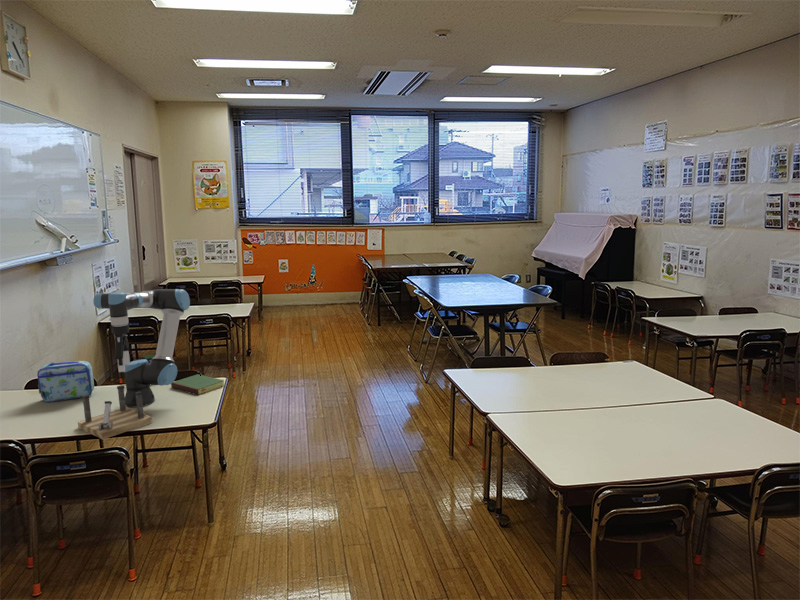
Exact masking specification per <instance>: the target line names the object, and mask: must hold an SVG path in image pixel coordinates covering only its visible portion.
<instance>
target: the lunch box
mask: <svg viewBox="0 0 800 600" xmlns="http://www.w3.org/2000/svg"><path fill="white" fill-rule="evenodd" d="M36 376H37V381H38V384H37V387H38V393H39V394H40V397H41V400H43V402H44V403H45V402H46V403H52V402H57V401H65V400H74V399H79V398H81V399H82V396H84V395H89V397H90V396H91V395H92V393H93V392H94V390H95V383H94V382H95V381H94V375H93V368H92V364H91V363H90V362H89V361H87V360H73V361H72V360H71V361H62V362H50V363H47V364H45V365H44V366H42V368H40V369H39V370H37V375H36Z"/></svg>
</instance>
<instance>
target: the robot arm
mask: <svg viewBox="0 0 800 600" xmlns="http://www.w3.org/2000/svg"><path fill="white" fill-rule="evenodd" d="M92 300H93V306H94V307H95V308H96V309H102V310H104V309H105V310H108V309H109V317H110V318H109V320H108V321H110V325H111V334H113V335H117V336H116V337H115V360H117V368H118V373H124V378H125V379H124V380H125V386H126V387H125V388H126V389H125V390H126V392H125V394H124V396H125V405H126V407H127V408H137V403H136V395H135V392H139V391H140V392H142V402H143V407H144V406H148V405H151V404H153V403H154V402H155V401H156V398H155V394H154V392H153V390H152V388H151V386H169V385H170V386H171V383H172V382H175V381H176V379H177V375H178V367H177V365H176V364H175V360H174V358H173V356H174V351H175V347H176V340H177V335H178V328H179V323H180V319H181V317H183V315H184V314H185V313H184V312H185V311H187V310H188V309H189V308H190V305H191V298H190V296H189V293H188V292H187V291H186V290H185V289H181V288H180V289H179V288H175V289H174V288H173V289H172V288H169V289H168V288H159V289H151V290H142V291H141V292H124V291H120V292H119V291H116V292H110V293H109V292H108V293H103V292H102V293H97V294H95V295H94V296H93V299H92ZM139 307H140V308H142V309H151V310H152V309H153V310H161V313H162V314H163V315H162V320H161V324H160V325H161V326H160V331H159V336H158V341H157V346H156V351H155V354H154V355H155V357H153V358H152V360H151V363H148V361H147V360H146V359H142V358H141V360H140V359H136V360H133V361H130V360H131V358H130V353H129V352H130V351H131V348H130V345H129V344H130V343H129V340H128V336H127V334H128V333H130V326H129V314H128V311H130V310H133V309H137V308H139Z"/></svg>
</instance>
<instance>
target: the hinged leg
mask: <svg viewBox="0 0 800 600" xmlns="http://www.w3.org/2000/svg"><path fill="white" fill-rule="evenodd" d="M111 407H112V401H111V400H108V401H107V400H106V401H104V411H103V412H104V413H103V414H104V419H103V424H102V429H109V420H110V412H111Z"/></svg>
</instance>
